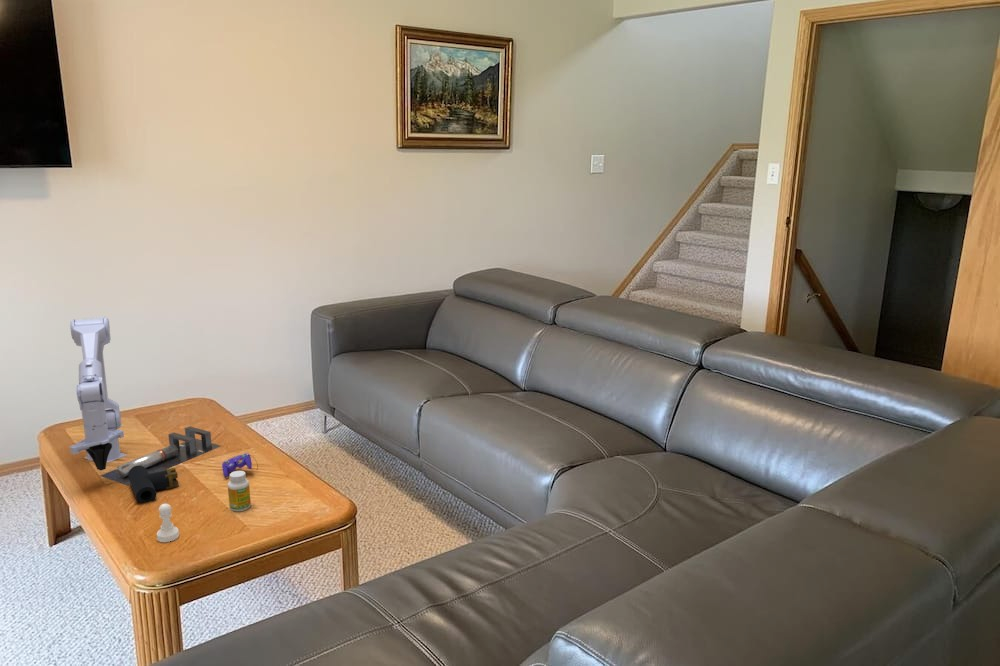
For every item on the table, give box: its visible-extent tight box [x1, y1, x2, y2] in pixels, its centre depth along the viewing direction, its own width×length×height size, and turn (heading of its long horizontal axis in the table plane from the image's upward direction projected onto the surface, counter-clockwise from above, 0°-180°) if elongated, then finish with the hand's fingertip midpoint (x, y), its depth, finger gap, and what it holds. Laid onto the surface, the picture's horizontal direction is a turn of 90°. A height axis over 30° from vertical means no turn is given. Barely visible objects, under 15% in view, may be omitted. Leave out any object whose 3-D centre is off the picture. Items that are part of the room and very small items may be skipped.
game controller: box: [221, 452, 259, 481], centre depth 218 cm, size 10×8×10 cm
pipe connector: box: [128, 466, 179, 504], centre depth 208 cm, size 12×5×15 cm
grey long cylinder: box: [116, 444, 178, 478], centre depth 223 cm, size 18×4×4 cm, turn 151°
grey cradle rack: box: [99, 426, 222, 487], centre depth 227 cm, size 13×33×6 cm, turn 151°
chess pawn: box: [156, 503, 180, 543], centre depth 183 cm, size 5×5×9 cm
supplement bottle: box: [227, 470, 252, 512], centre depth 198 cm, size 5×5×10 cm
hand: (101, 469), depth 210 cm, fingers closed
